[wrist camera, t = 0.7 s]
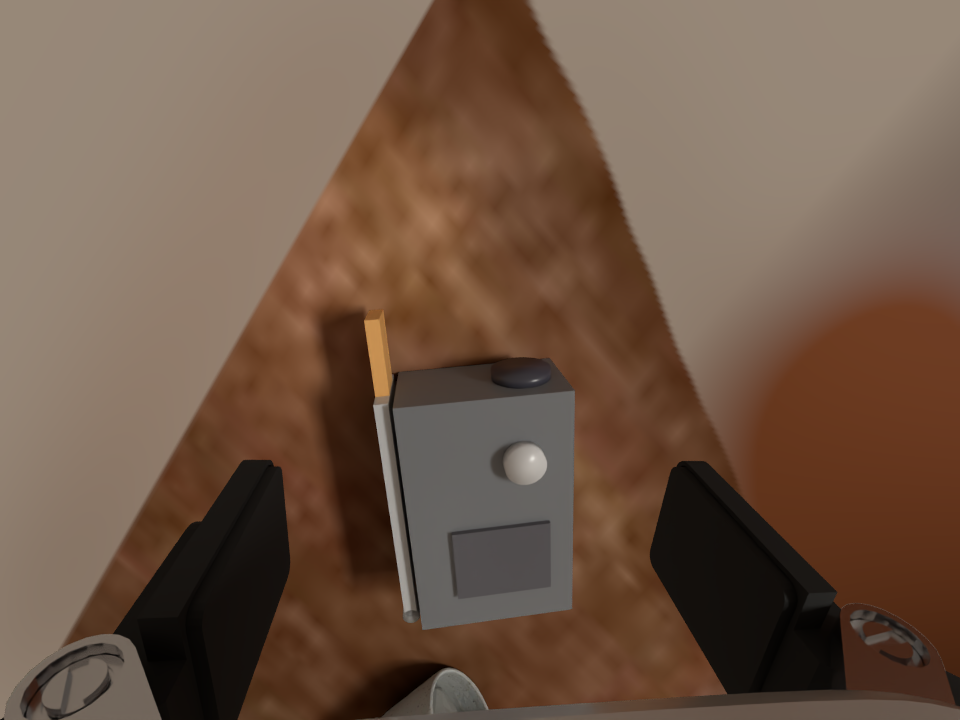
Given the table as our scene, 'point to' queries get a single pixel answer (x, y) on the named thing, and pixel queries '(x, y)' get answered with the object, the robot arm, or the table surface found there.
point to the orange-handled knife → (391, 459)
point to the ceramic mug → (441, 696)
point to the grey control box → (488, 488)
